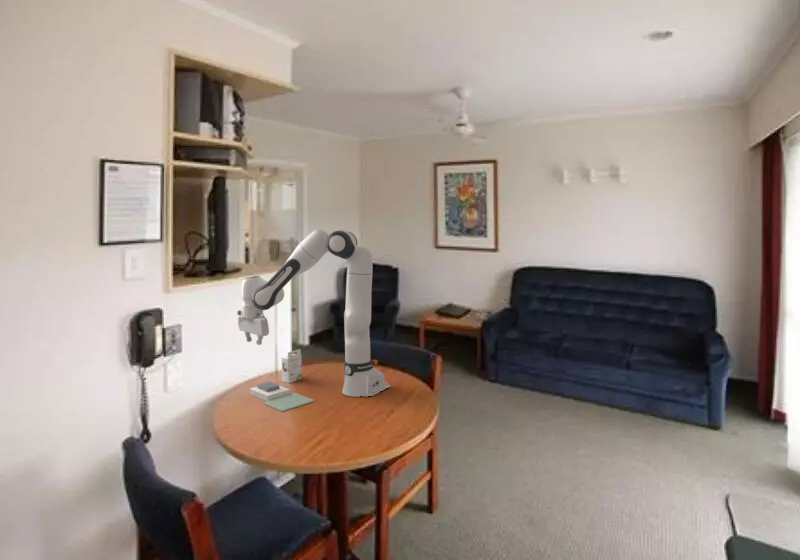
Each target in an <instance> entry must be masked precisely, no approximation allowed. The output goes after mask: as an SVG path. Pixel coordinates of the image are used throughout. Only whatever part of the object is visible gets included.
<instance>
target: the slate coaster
mask: <svg viewBox="0 0 800 560" xmlns="http://www.w3.org/2000/svg"><path fill="white" fill-rule="evenodd" d="M279 386H280V385H279V384H276V383H274V382H271V381H265V382H263V383H258V384H257V385H256V387H257V388H258V389H261V390H263V391H266V392H270V391H273V390H277V389H279Z"/></svg>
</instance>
